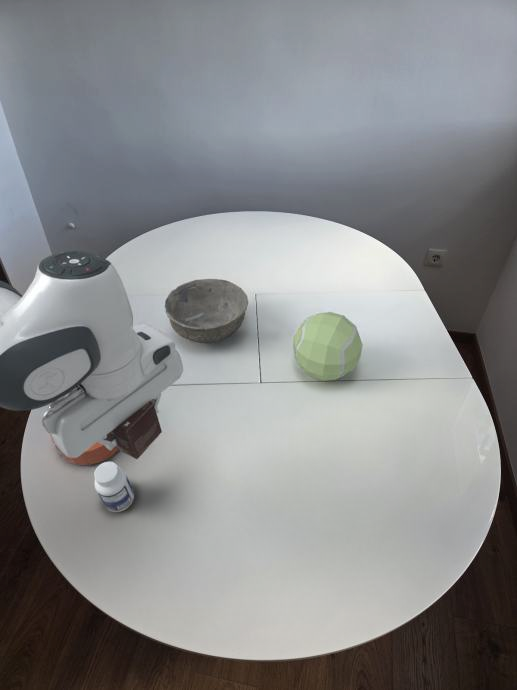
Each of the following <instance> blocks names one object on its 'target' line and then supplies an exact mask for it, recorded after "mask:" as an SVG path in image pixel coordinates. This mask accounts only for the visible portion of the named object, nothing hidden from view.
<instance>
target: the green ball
mask: <svg viewBox="0 0 517 690" xmlns="http://www.w3.org/2000/svg"><path fill="white" fill-rule="evenodd" d="M363 346H364V344H363V341H362V338H361V336H360V334H359V330H358V328H357V325H356V324H354V323H353V322H352V321H351V320H350V319H349V318H347V317H346V316H345V315H343V314H339V313H335V312H332V311H327V312H319V313H315V314H313V315H311V316H309V317H307V318H306V319H305V320H304V321H303V322H302V323H301V324H300V325H299V327H298V328H297V330H296V331H295V333H294V335H293V342H292V349H293V355H294V359H295V361H296V363H297V364H298V365H299V368H300V369H301V370H302V371H304V372H305V373H306V375H307V376H309V377H310V378H313V379H316V380H320V381H322V382H326V381H336V380H338V379H340V378H342V377H344V376H345V375H347V374H349V373H350V372H351V371H353V370H354V369H355V368H356V367H357V365H358V363H359V361H360V359H361V355H362V351H363Z"/></svg>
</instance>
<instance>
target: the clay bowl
mask: <svg viewBox="0 0 517 690" xmlns="http://www.w3.org/2000/svg"><path fill="white" fill-rule="evenodd" d="M49 434H50V438H51V441H52V443H53V446H54V447H55V449H56V450H57V452H58V454H59V455H60V456H61V457H62V458H63V459H64V460H65V461H66V462H68V463H71V464H74V465H75V466H90V465H94V464H98V463H101V462H103V461H105V460H108V459H109V458H111V457H113V456H114V455H115V454H116V453H117V452H118V451H120V450H119V449H118V448H116V447H114V448H113V449H112V450H111V451H110V450H109V449H108V448H107V447H105V445H104V444H99V443H98V442H97V443H95V444H94V445H93V446H92V447H90V448H89V449H88V450H86V451H85V452H84V453H83V454H81V455H80V456H79V457H77V458H69V457H67V456H66V455H65V454H63V453H62V452H61V451H60V449H59V448H58V447H57V446H56V444H55V443H54V441H53V438H52V436H51V433H49Z"/></svg>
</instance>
